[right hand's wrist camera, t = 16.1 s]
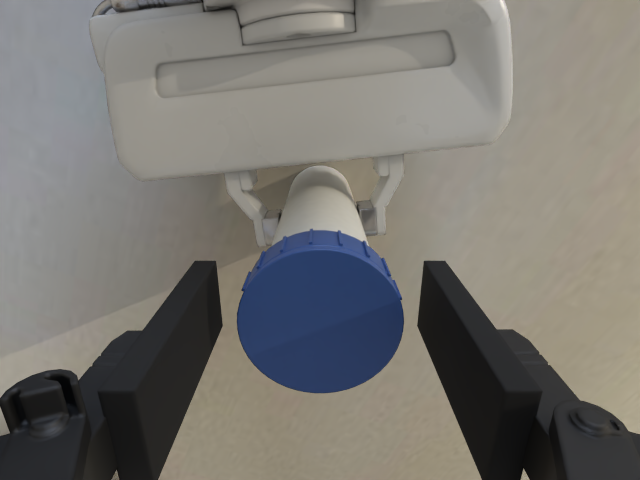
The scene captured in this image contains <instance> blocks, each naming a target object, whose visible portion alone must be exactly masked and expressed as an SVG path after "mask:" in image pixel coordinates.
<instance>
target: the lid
mask: <svg viewBox="0 0 640 480" xmlns="http://www.w3.org/2000/svg"><path fill="white" fill-rule="evenodd" d="M242 291H244V292H243V295H242V298H241V300H240V303H239V308H238V312H237V328H238V334H239V338H240V341H241V344H242V346H243V349H244V351H245V353H246V354H247V356H248V358H249V359H250V360H251V362H252V363H253V364H254V365H255V366H256V367H257V368H258V369H259V370H260V371H261V372H262V373H263V374H265V375H266V376H267V377H268V378H270V379H272V380H273V381H275V382H277V383H279V384H281V385H283V386H285V387H288V388H291V389H294V390H298V391H303V392H309V393H331V392H338V391H343V390H347V389H350V388H353V387H355V386H358V385H360V384H362V383H364V382H366V381H367V380H369V379H371V378H372V377H374V376H375V375H376V374H377V373H379V372H380V371H381V370H382V369H383V368H384V367H385V366H386V365H387V364H388V362H389V361H390V360H391V359H392V357H393V355H394V354H395V352H396V350H397V348H398V346H399V343H400V341H401V337H402V333H403V325H404V316H403V309H402V304H401V301H400V300H402V297H401V295H400V292H399V290H398V287H397V285H396V282H395V280H392V278H391V274H390V271H389V269H388V266H387V264H386V261H385V259H384V258H382V259H381V258H380V257H379V255H378V254H377V253H376V252H375V251H374V250H373V249H372V248H370V247H369V246H368V245H367V243H366V241H363V242H362V241H360V240H358V239H356V238H355V237H352V236H349V235H347V234H344V233H341V231H340V230H338V232H336V231H328V230H313V229H310V231H305V232H301V233H297V234H294V235H291V236H289V237H286V236H284V237H283V239H282V240H281V241H279V242H277V243H276V244H274V245H273V246H272V247H270V248H269V249H268V250H267V251H266V252H265V251H263V252H262V253H261V256H260V259H259V260H258V261H257V263H256V264H255V266H254V268H253V270H252V272H249V273H248V276H247V278H246V280H245V283H244V285H243V288H242Z"/></svg>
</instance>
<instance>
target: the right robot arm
mask: <svg viewBox="0 0 640 480" xmlns="http://www.w3.org/2000/svg"><path fill="white" fill-rule="evenodd" d="M222 326H223V325H222V315H221V305H220V295H219V286H218V276H217V266H216V261H195V262H194V263H193V264H192V266H191V267H190V268H189V270H188V271H187V272H186V274H185V275H184V276H183V277H182V279H181V280H180V281H179V283H178V284H177V285H176V287H175V288H174V289H173V291H172V292H171V293H170V295H169V296H168V297H167V299H166V300H165V301H164V303H163V304H162V305H161V307H160V308H159V309H158V311H157V312H156V313H155V315H154V316H153V317H152V319H151V320H150V321H149V323H148V324H147V325H146V327H145V328H144V329H143V331H126V332H125V333H123V334H122V335H120V336H119V337H117V338H116V339H114V340H113V341H111V343H110V344H109V345H108V346H107V347H106V349H105V350H104V351H103V352H102V353H101V356H99V357H98V358H97V359H96V360H95V362H94V363H93V365H92V367H90V368H89V369H88V370H87V371H86V372H85V373H84V375H83V376H82V377H81V378H80V379H79V381H78V378H77V375H76V374H74V373H73V372H72V371H69V370H62V369H58V370H49V371H44V372H41V373H38V374H35V375H32V376H30V377H28V378H26V379H24V380H22V381H20V382H18V383H16V384H15V385H14V386H12V387H11V388H9V389H8V390H7V391H6V392H5V393H4V394H3V395H2V397H1V398H0V407H1V410H2V412H3V415H4V418H5V420H6V423H7V426H8V429H9V431H10V434H7V435H3V436H0V480H111V479H112V477H113V475H114V473H115V472H116V470H117V472H118V476H119V480H158V478H159V476H160V473H161V471H162V469H163V466H164V464H165V462H166V459H167V457H168V454H169V452H170V450H171V447H172V445H173V443H174V440H175V438H176V435H177V433H178V431H179V428H180V426H181V424H182V421H183V419H184V416H185V414H186V412H187V409H188V407H189V404H190V402H191V400H192V397H193V395H194V393H195V390H196V388H197V385H198V383H199V381H200V378H201V376H202V374H203V371H204V369H205V366H206V364H207V362H208V359H209V357H210V355H211V352H212V350H213V347H214V345H215V343H216V340H217V338H218V336H219V333H220V331H221V328H222ZM417 326H418V328H419V331H420V333H421V336H422V338H423V340H424V343H425V345H426V347H427V350H428V352H429V355H430V357H431V359H432V362H433V364H434V366H435V369H436V371H437V374H438V376H439V378H440V381H441V383H442V385H443V388H444V390H445V393H446V395H447V397H448V400H449V402H450V404H451V407H452V409H453V412H454V414H455V416H456V419H457V421H458V424H459V426H460V428H461V431H462V433H463V435H464V438H465V440H466V443H467V445H468V447H469V450H470V452H471V454H472V457H473V459H474V462H475V464H476V466H477V469H478V471H479V473H480V476H481V478H482V480H521V476H522V472H523V468H524V470H525V471H526V473H527V475H528V477H529V479H530V480H640V434H636V433H632V432H629V431H628V430H627V428H626V427H625V425H624V424H623V423H622V422H621V421H620V420H619V419H617V418H616V417H615V416H614V415H613V414H611V413H610V412H608V411H606V410H604V409H602V408H601V407H599V406H596V405H594V404H591V403H588V402H585V401H580V400H579V399H578V398H577V396H576V395H575V394H574V393H573V392H572V391H571V389H570V388H569V387H568V386H567V385H566V383H565V382H564V381H563V380H562V379H561V378H560V376H559V375H558V374H557V373H556V372H555V370H554V369H553V368H552V367H551V366H550V365H548V362H547V361H546V360H545V359H544V358H543V356H542V355H539V352H538V350H537V349H536V348H535V347H534V346H533V345H532V343H531V342H530V341H529V340H528V339H526V338H525V337H523V336H522V335H520V334H519V333H517V332H516V331H514V330H497V329H496V328H495V327H494V325H493V324H492V323H491V321H490V320H489V319H488V317H487V316H486V315H485V313H484V312H483V311H482V309H481V308H480V307H479V305H478V304H477V303H476V301H475V300H474V299H473V297H472V296H471V295H470V293H469V292H468V291H467V289H466V288H465V287H464V285H463V284H462V283H461V281H460V280H459V279H458V277H457V276H456V275H455V274H454V272H453V271H452V270H451V268H450V267H449V266H448V264H447V263H446V262H445V261H424V266H423V276H422V286H421V295H420V305H419V315H418V325H417Z"/></svg>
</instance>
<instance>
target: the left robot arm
mask: <svg viewBox="0 0 640 480" xmlns="http://www.w3.org/2000/svg"><path fill="white" fill-rule="evenodd" d="M111 8H113V9H114V10H115V11H116V12H118V13H114V14H106V15H104V14H105V13H106V12H107V11H108V10H110V9H111ZM152 8H155V9H152ZM146 9H147V10H146ZM89 31H90V36H91V40H92V44H93V47H94V51H95V55H96V58H97V62H98V64H99V67H100V69H101V70H102V72H103V73H104V76H105V87H106V95H107V104H108V111H109V117H110V123H111V129H112V134H113V139H114V144H115V148H116V152H117V156H118V159H119V162H120V164H121V165H122V167H124V168H125V169H126V170H127V171H128V172H129V173H130V174H131V175H132V176H134V177H135V178H136V179H137V180H139V181H152V180H162V179H171V178H180V177H190V176H199V175H209V174H218V173H224V177H225V182H226V188H227V193H228V194H229V195H230V197H231V198H232V199H233V200H234V201H235V202H236V204H237V205H238V206H239V207H240V208H241V209H242V211H243V212H244V213H245V214H246V215H247V216H248V218H249V219H250V220H253V224H254V230H255V235H256V241H257V245H258V247H265V246H271V245H272V243H273V240H274V236H275V233H276V230H277V227H278V224H279V221H280V218H281V215H282V212H281V209H279V210H268V209H267V208H266V207H265V205H264V204H263V203H262V201H261V200H260V199H259V197H258V196H257V195H256V194H255V192H254V191H253V190H252V188H253V186H254V185H255V184H256V182H257V181H258V179H257V173H256V169H265V168H275V167H284V166H294V165H303V164H312V163H322V162H331V161H341V160H350V159H359V158H369V157H373V168H374V170H375V171H376V172H377V174H378V175H379V176H380V178H379V181H378V183H377V185H376V187H375V189H374V191H373V193H372V195H371V197H370V200H366V201H358V202H356V204H357V211H358V214H359V217H360V220H361V223H362V226H363V229H364V232H365V235H366V236H375V235H385V234H386V219H385V206H387V205H388V204H389V202H390V200H391V198H392V196H393V194H394V193H395V191H396V189H397V187H398V185H399V183H400V182H401V180H402V178H403V176H404V154H407V153H416V152H425V151H435V150H444V149H454V148H463V147H473V146H482V145H490V144H493V143H494V142H495V141H496V140H497V139H498V137H499V136H500V135H501V133H502V132H503V131H504V129H505V128H506V127H507V125H508V123H509V121H510V117H511V111H512V95H513V58H512V39H511V27H510V19H509V13H508V9H507V6H506V3H505V1H504V0H104V1H103V2H101V3H100V4H99V5H98V6H97V8H96V9H95V11H94V13H93V16H92V18H91V19H90V22H89Z"/></svg>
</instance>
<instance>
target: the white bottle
mask: <svg viewBox="0 0 640 480" xmlns="http://www.w3.org/2000/svg"><path fill="white" fill-rule="evenodd" d="M310 229H313V230H328V231H336V232H338V230H340V231H341V233H344V234H347V235H349V236H352V237H355V238H356V239H358V240H360V241H362V242H363V241H366V243H367V245H368V246H369V244H368V241H367V238H366V235H365V232H364V229H363V226H362V223H361V220H360V217H359V214H358V211H357V208H356V205H355V202H354V199H353V196H352V193H351V190H350V187H349V184H348V182H347V180H346V179H345V177H344V176H343V175H342V174H341V173H340V172H338V171H337V170H335V169H334V168H331V167H328V166H322V165H320V166H312V167H309V168H307V169H305V170H303V171H302V172H300V173H299V174H298V175H297V176H296V178H295V179H294V181H293V182H292V185H291V187H290V190H289V193H288V196H287V200H286V203H285V206H284V209H283V212H282V215H281V218H280V221H279V224H278V227H277V230H276V233H275V236H274V240H273V243H272V246H273V245H274V244H276V243H277V242H279V241H281V240H282V239H283V237H284V236H286V237H289V236H291V235H294V234H297V233H301V232H305V231H310ZM272 246H271V247H272Z"/></svg>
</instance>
